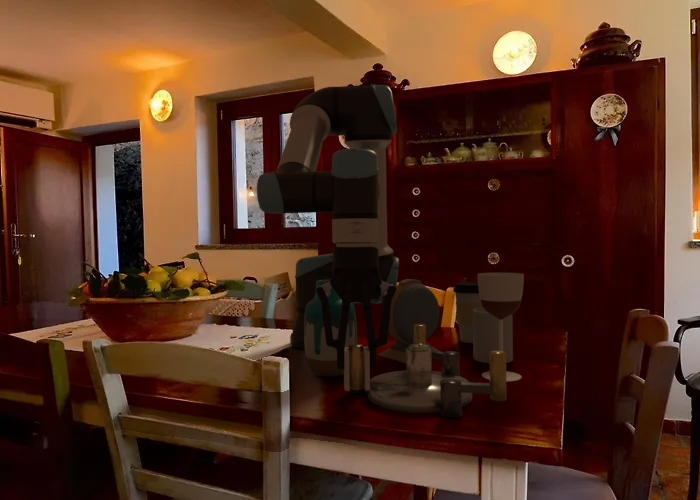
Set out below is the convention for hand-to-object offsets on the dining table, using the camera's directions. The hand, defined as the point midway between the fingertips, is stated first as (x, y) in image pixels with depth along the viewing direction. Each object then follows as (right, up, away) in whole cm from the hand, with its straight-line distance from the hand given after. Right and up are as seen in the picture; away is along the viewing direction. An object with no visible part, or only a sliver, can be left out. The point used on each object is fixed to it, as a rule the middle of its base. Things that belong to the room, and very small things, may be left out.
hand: (356, 387), depth 84 cm
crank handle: (+16, -2, +15) cm, 22 cm away
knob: (0, -3, +4) cm, 5 cm away
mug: (+31, -2, +31) cm, 44 cm away
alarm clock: (+13, -2, +35) cm, 37 cm away
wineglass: (+29, -2, +16) cm, 33 cm away
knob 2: (+18, -3, -6) cm, 19 cm away
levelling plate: (+11, -3, +5) cm, 12 cm away
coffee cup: (+31, -1, +49) cm, 58 cm away
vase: (-5, -3, +19) cm, 20 cm away
